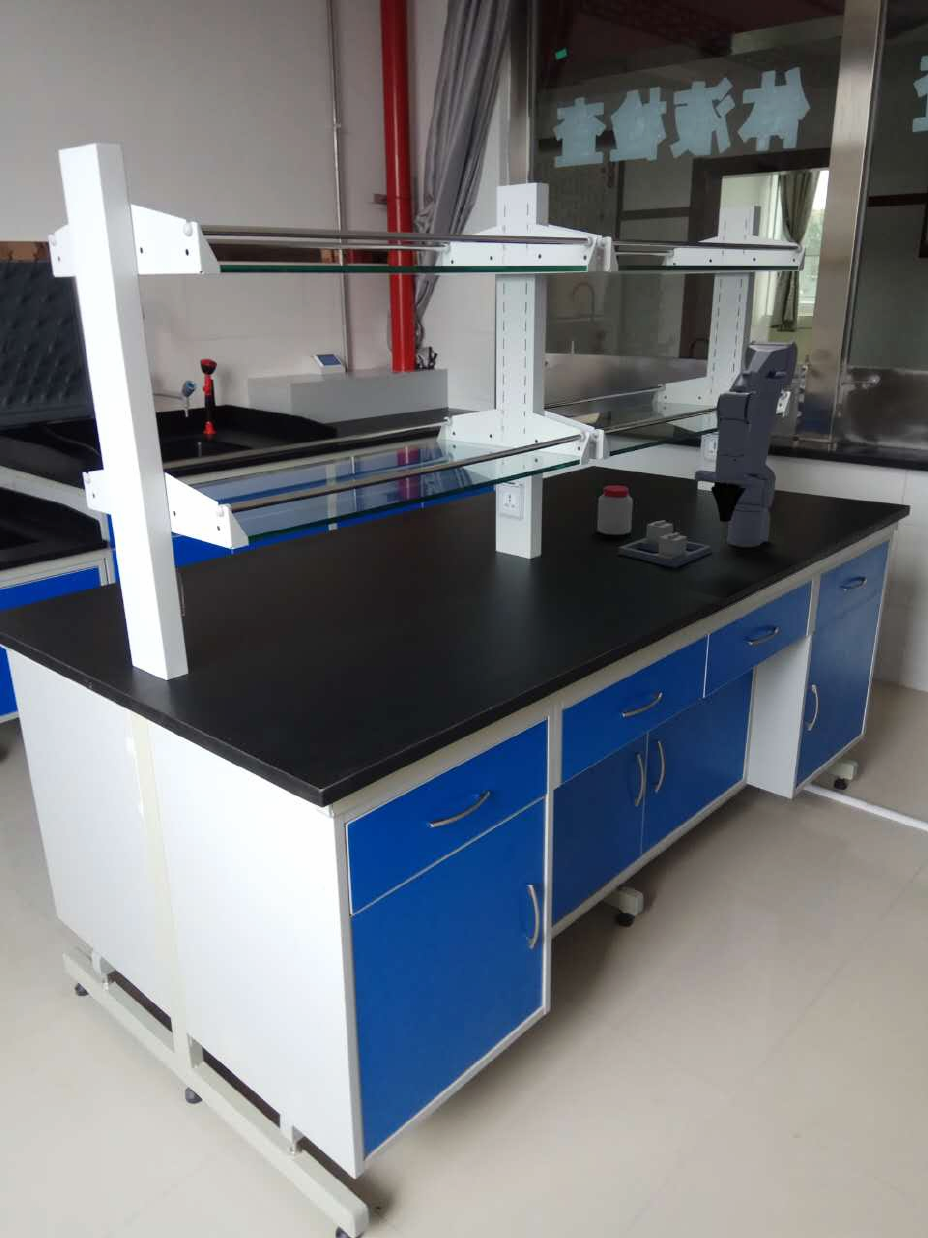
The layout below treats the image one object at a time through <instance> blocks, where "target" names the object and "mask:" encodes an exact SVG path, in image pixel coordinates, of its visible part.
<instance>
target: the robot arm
mask: <svg viewBox="0 0 928 1238" xmlns="http://www.w3.org/2000/svg"><path fill="white" fill-rule="evenodd" d="M798 353H799V349H798V345H797V343H796V341H790V342H787V341H786V342H783V341H782V342H781V341H756V340H751V341H750V342H748V344H747V346H746V349H745V353H744V367H745V370H744V371H742V372H740V373H739V374H738V375H737V376H736V378H735V379H734V382H733V383H732V384H731V386H730V388H729V390H728V391H725V392H723V393H720V394H719V396H718V398H717V402H716V409H715V410H716V412H715V414H716V415H715V416H716V429H717V431H718V434H717V435H718V436H717V446H716V455H715V456H716V458H715V459H716V460H715V467H714V468H715V469H714V471H711V470H701V469H700V470H697V471H695V472H694V481H695V482H705V483H709V484H710V483H712V484H714V485H713V486H711V488H710V490H711V491H710V492H711V493H712V495H713V497H714V499H715V503H716V505H717V511H718V514H719V515H718V516H719V521H720V522H724V523H727V522H728V524H727V525H728V527H727V536H726V537H727V538H726V539H727V540H726V542H727V544H729V545H731V546H735V547H741V548H754V547H758V546H759V547H760V545H762V543H764V542H769V536H770V535H769V534H770V525H771V514H770V511H769V509H768V508H770V507H771V506H772V504H773V502H774V501H773V500H774V498H775V493H776V492H775V491H776V481H777V478H776V473H775V472H774V470H772V469H771V467H769V466H768V465H767V459H768V453H769V448H770V446H771V445H770V443H771V440H772V435H773V430H774V425H775V421H776V415H777V411H778V406H779V401H780V398H781V395H782V392H783V390H784V389H785V388H787V387H789V386H791V385H792V383H793V379H794V376H795V371H796V367H797V363H798Z"/></svg>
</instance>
